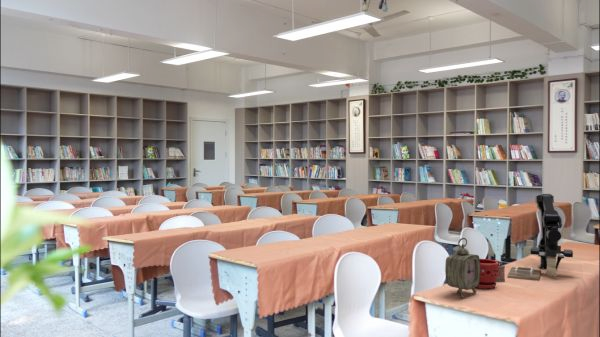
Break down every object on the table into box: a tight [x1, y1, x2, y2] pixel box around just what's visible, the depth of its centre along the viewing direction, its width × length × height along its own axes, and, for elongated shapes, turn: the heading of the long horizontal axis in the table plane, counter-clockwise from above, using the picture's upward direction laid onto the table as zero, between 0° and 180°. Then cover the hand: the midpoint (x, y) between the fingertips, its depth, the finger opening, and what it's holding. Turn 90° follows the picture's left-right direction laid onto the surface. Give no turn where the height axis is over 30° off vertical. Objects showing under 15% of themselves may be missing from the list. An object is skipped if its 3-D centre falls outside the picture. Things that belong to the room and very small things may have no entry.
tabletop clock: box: [444, 237, 481, 299], centre depth 213 cm, size 14×9×25 cm, turn 131°
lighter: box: [488, 259, 506, 283], centre depth 234 cm, size 8×3×10 cm, turn 84°
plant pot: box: [475, 258, 500, 289], centre depth 226 cm, size 13×13×12 cm
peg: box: [546, 256, 557, 277], centre depth 243 cm, size 4×4×9 cm
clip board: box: [507, 266, 542, 282], centre depth 246 cm, size 20×14×4 cm
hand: (551, 269), depth 243 cm, fingers closed on peg, 4 cm apart
